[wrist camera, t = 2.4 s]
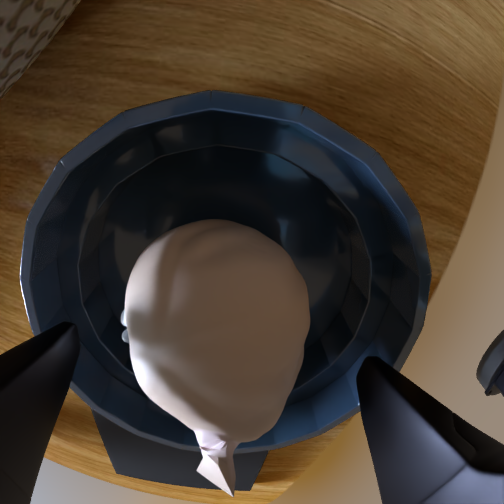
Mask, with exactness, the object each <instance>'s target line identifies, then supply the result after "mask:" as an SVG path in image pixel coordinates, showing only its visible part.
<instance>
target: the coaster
mask: <svg viewBox="0 0 504 504" xmlns="http://www.w3.org/2000/svg"><path fill="white" fill-rule="evenodd" d="M91 410H92V413H93V416H94V419H95V422H96V425H97V427H98V430H99V433H100V435H101V438H102V441H103V443H104V446H105V448H106V450H107V453H108V455H109V458H110V460H111V462H112V465H113V467H114V469H115V471H116V473H117V474H121V475H125V476H129V477H134V478H138V479H143V480H148V481H154V482H160V483H166V484H172V485H179V486H187V487H196V488H206V489H219V490H222V489H221V488H219V487H218V486H216V485H215V484H214V483H212V482H211V481H209V480H208V479H207V478H205V477H204V476H203V475H201V474H200V473H199V472H197V469H198V467H199V465H200V463H201V461H202V459H203V455H202V452H198V451H189V450H183V449H178V448H175V447H171V446H168V445H165V444H162V443H158V442H155V441H152V440H149V439H146V438H144V437H141V436H138V435H136V434H133V433H132V432H130V431H128V430H126V429H124V428H123V427H121V426H119V425H117V424H116V423H114V422H112V421H111V420H109V419H107V418H106V417H104V416H102V415H101V414H99V413H98V412H96V411H94V410H93V409H92V408H91ZM268 452H269V450H266V451H258V452H249V453H239V454H233V462H234V468H235V474H236V480H235V489H234V490H238V491H250V490H251V488H252V486H253V484H254V482H255V480H256V478H257V476H258V473H259V471H260V469H261V467H262V465H263V463H264V460H265V458H266V456H267V454H268Z"/></svg>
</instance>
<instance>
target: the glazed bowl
mask: <svg viewBox="0 0 504 504" xmlns="http://www.w3.org/2000/svg"><path fill="white" fill-rule="evenodd" d="M208 219H222V220H229V221H233V222H236V223H239V224H242V225H245V226H248V227H251V228H254V229H256V230H258V231H259V232H261V233H262V234H264V235H265V236H267V237H268V238H270V239H271V240H273V241H274V242H276V243H277V244H279V245H280V246H281V247H282V248H283V249H284V250H285V251H286V252H287V253H288V254H289V255H290V257H291V259H292V260H293V263H294V265H295V267H296V268H297V270H298V271H299V273H300V274H301V275H302V277H303V279H304V281H305V283H306V286H307V291H308V299H309V311H310V328H309V331H308V334H307V337H306V339H305V343H304V357H303V362H302V366H301V368H300V371H299V373H298V375H297V379H296V381H295V384H294V386H293V389H292V391H291V392H290V394H289V396H288V398H287V400H286V403H285V406H284V409H283V411H282V413H281V415H280V417H279V419H278V421H277V422H276V424H275V425H274V426H273V428H272V429H271V430H269V431H268V432H266V433H265V434H263V435H262V436H261V437H259V438H258V439H256V440H254V441H250V442H241V443H239V444H238V446H237V447H236V448H235V450H234V452H233V454H239V453H249V452H258V451H266V450H274V449H279V448H282V447H286V446H289V445H292V444H295V443H298V442H301V441H304V440H307V439H310V438H313V437H315V436H318V435H321V434H323V433H325V432H327V431H329V430H330V429H332V428H334V427H335V426H337V425H339V424H340V423H342V422H344V421H345V420H347V419H349V418H350V417H352V416H353V415H355V414H357V413H358V412H360V411H361V410H360V404H359V397H358V391H357V385H356V375H357V373H358V371H359V369H360V367H361V365H362V363H363V361H364V359H365V358H366V357H368V356H377V357H379V358H381V359H382V360H383V361H385V362H386V363H387V364H389V365H390V366H391V367H393V368H394V369H395V370H397V371H398V372H400V370H401V368H402V367H403V365H404V363H405V361H406V359H407V358H408V356H409V354H410V352H411V350H412V348H413V346H414V344H415V342H416V340H417V339H418V336H419V334H420V332H421V330H422V327H423V325H424V320H425V315H426V309H427V303H428V297H429V291H430V284H431V276H432V273H431V272H432V271H431V265H430V260H429V255H428V250H427V245H426V240H425V235H424V231H423V227H422V222H421V218H420V214H419V212H418V209H417V208H416V206H415V205H414V203H413V201H412V200H411V198H410V197H409V195H408V194H407V192H406V191H405V189H404V188H403V186H402V185H401V183H400V182H399V181H398V179H397V178H396V176H395V175H394V173H393V172H392V171H391V169H390V168H389V166H388V165H387V164H386V162H385V161H384V160H383V158H382V157H381V155H380V154H379V153H378V152H376V150H375V149H373V148H372V147H371V146H369V145H368V144H366V143H365V142H363V141H362V140H360V139H359V138H357V137H356V136H354V135H353V134H351V133H350V132H348V131H347V130H345V129H343V128H342V127H340V126H339V125H337V124H336V123H334V122H332V121H331V120H329V119H327V118H326V117H324V116H322V115H321V114H319V113H317V112H316V111H314V110H312V109H311V108H309V107H307V106H303V105H302V104H297V103H293V102H288V101H283V100H278V99H272V98H267V97H261V96H255V95H249V94H242V93H235V92H228V91H220V90H212V91H211V90H206V91H201V92H196V93H191V94H187V95H182V96H178V97H173V98H169V99H165V100H161V101H157V102H153V103H150V104H146V105H142V106H139V107H135V108H132V109H128V110H125V111H124V112H121V113H120V114H118V115H117V116H115V117H114V118H112V119H111V120H109V121H108V122H107V123H105V124H104V125H103V126H101V127H100V128H98V129H97V130H96V131H94V132H93V133H92V134H91V135H89V136H88V137H87V138H85V139H84V140H83V141H81V142H80V143H79V144H78V145H76V146H75V147H74V148H73V149H72V150H70V151H69V152H68V153H67V154H66V155H64V156H63V157H62V158H61V159H60V161H59V162H58V163H57V165H56V167H55V168H54V170H53V171H52V173H51V175H50V177H49V178H48V180H47V182H46V183H45V185H44V187H43V189H42V191H41V192H40V194H39V196H38V198H37V200H36V202H35V204H34V206H33V207H32V209H31V211H30V213H29V215H28V217H27V221H26V226H25V233H24V240H23V247H22V256H21V266H20V283H21V288H22V293H23V298H24V302H25V306H26V311H27V315H28V319H29V323H30V326H31V330H32V332H33V334H34V336H37V335H38V334H40V333H42V332H44V331H46V330H48V329H50V328H52V327H54V326H56V325H58V324H59V323H61V322H64V321H67V322H71V323H75V324H76V325H77V328H78V333H79V338H80V343H81V350H80V354H79V357H78V360H77V363H76V366H75V370H74V373H73V376H72V380H71V383H70V386H69V387H70V388H71V389H72V390H73V391H74V392H75V393H76V394H77V395H78V396H79V397H80V398H81V399H82V400H83V401H84V402H85V403H86V404H87V405H89V406H90V407H91V408H92V409H93V410H94V411H96V412H98V413H99V414H101V415H102V416H104V417H106V418H107V419H109V420H111V421H112V422H114V423H116V424H117V425H119V426H121V427H123V428H124V429H126V430H128V431H130V432H132V433H133V434H136V435H138V436H141V437H144V438H146V439H149V440H152V441H155V442H158V443H162V444H165V445H168V446H171V447H175V448H178V449H183V450H189V451H198V452H201V448H200V445H199V443H198V440H197V437H196V434H195V432H194V431H193V430H192V429H190V428H189V427H187V426H186V425H185V424H184V423H182V422H181V421H180V420H178V419H177V418H176V417H174V416H173V415H171V414H170V413H168V412H167V411H165V410H163V409H162V408H161V407H160V406H158V405H157V404H156V403H155V402H153V401H152V400H151V399H150V398H149V397H148V396H147V395H146V394H145V392H144V391H143V390H142V388H141V387H140V385H139V383H138V381H137V379H136V376H135V373H134V370H133V366H132V361H131V356H130V344H129V343H127V342H124V341H123V339H122V333H123V332H124V331H125V330H126V329H127V327H126V326H124V325H123V324H122V322H121V314H122V312H123V310H124V309H125V295H126V289H127V284H128V280H129V277H130V274H131V272H132V269H133V267H134V265H135V263H136V261H137V259H138V258H139V256H140V255H141V253H142V252H143V251H144V250H145V249H146V247H147V246H149V245H150V244H151V243H152V242H153V241H154V240H155V239H157V238H158V237H160V236H161V235H163V234H164V233H166V232H168V231H170V230H172V229H174V228H177V227H180V226H183V225H186V224H189V223H192V222H196V221H201V220H208Z"/></svg>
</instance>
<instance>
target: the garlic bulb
mask: <svg viewBox="0 0 504 504" xmlns="http://www.w3.org/2000/svg"><path fill="white" fill-rule="evenodd" d="M121 322H122V324H123V325H124V326H126V327H127V329H126V330H125V331H124V332H123V333H122V339H123V341H124V342H127V343H129V344H130V356H131V361H132V366H133V370H134V373H135V376H136V379H137V381H138V383H139V385H140V387H141V388H142V390H143V391H144V392H145V394H146V395H147V396H148V397H149V398H150V399H151V400H152V401H153V402H155V403H156V404H157V405H158V406H160V407H161V408H162V409H163V410H165V411H167V412H168V413H170V414H171V415H173V416H174V417H176V418H177V419H178V420H180V421H181V422H182V423H184V424H185V425H186V426H187V427H189V428H190V429H192V430H193V431H194V432H195V434H196V437H197V440H198V443H199V445H200V448H201V452H202V455H203V459H202V461H201V463H200V465H199V467H198V469H197V472H199V473H200V474H201V475H203V476H204V477H205V478H207V479H208V480H209V481H211V482H212V483H214V484H215V485H216V486H218V487H219V488H221V489H222V490H224V491H225V492H226V493H228V494H229V495H231V496H232V497H234V489H235V480H236V474H235V468H234V462H233V452H234V450H235V448H236V447H237V446H238V444H239V443H241V442H250V441H254V440H256V439H258V438H259V437H261V436H262V435H263V434H265V433H266V432H268V431H269V430H271V429H272V428H273V426H274V425H275V424H276V422H277V421H278V419H279V417H280V415H281V413H282V411H283V409H284V406H285V403H286V400H287V398H288V396H289V394H290V392H291V391H292V389H293V386H294V384H295V381H296V379H297V375H298V373H299V371H300V368H301V366H302V362H303V357H304V343H305V339H306V337H307V334H308V331H309V328H310V311H309V299H308V291H307V286H306V283H305V281H304V279H303V277H302V275H301V274H300V273H299V271H298V270H297V268H296V267H295V265H294V263H293V260H292V259H291V257H290V255H289V254H288V253H287V252H286V251H285V250H284V249H283V248H282V247H281V246H280V245H279V244H277V243H276V242H274V241H273V240H271V239H270V238H268V237H267V236H265V235H264V234H262V233H261V232H259V231H258V230H256V229H254V228H251V227H248V226H245V225H242V224H239V223H236V222H233V221H229V220H222V219H208V220H201V221H196V222H192V223H189V224H186V225H183V226H180V227H177V228H174V229H172V230H170V231H168V232H166V233H164V234H163V235H161V236H160V237H158V238H157V239H155V240H154V241H153V242H152V243H151V244H150V245H149V246H147V247H146V249H145V250H144V251H143V252H142V253H141V255H140V256H139V258H138V259H137V261H136V263H135V265H134V267H133V269H132V272H131V274H130V277H129V280H128V284H127V289H126V295H125V309H124V310H123V312H122V314H121Z"/></svg>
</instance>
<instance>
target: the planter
mask: <svg viewBox="0 0 504 504" xmlns="http://www.w3.org/2000/svg"><path fill="white" fill-rule="evenodd" d="M80 1H81V0H0V99H1V98H2V97H3V96H4V95H5V94H6V93H7V92H8V91H9V90H10V88H11V87H12V86H13V85H14V84H15V83H16V81H17V80H18V79H19V78H20V77H21V76H22V75H23V74H24V72H25V71H26V70H27V69H28V68H29V67H30V66H31V65H32V64H33V62H34V61H35V60H36V58H37V57H38V56H39V55H40V53H41V52H42V51H43V50H44V49H45V47H46V46H47V45H48V44H49V43H50V41H51V40H52V39H53V38H54V36H55V35H56V33H57V32H58V31H59V29H60V28H61V27H62V25H63V24H64V23H65V22H66V20H67V19H68V18H69V16H70V15H71V14H72V12H73V11H74V9H75V8H76V6H77V5H78V3H79V2H80Z"/></svg>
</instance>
